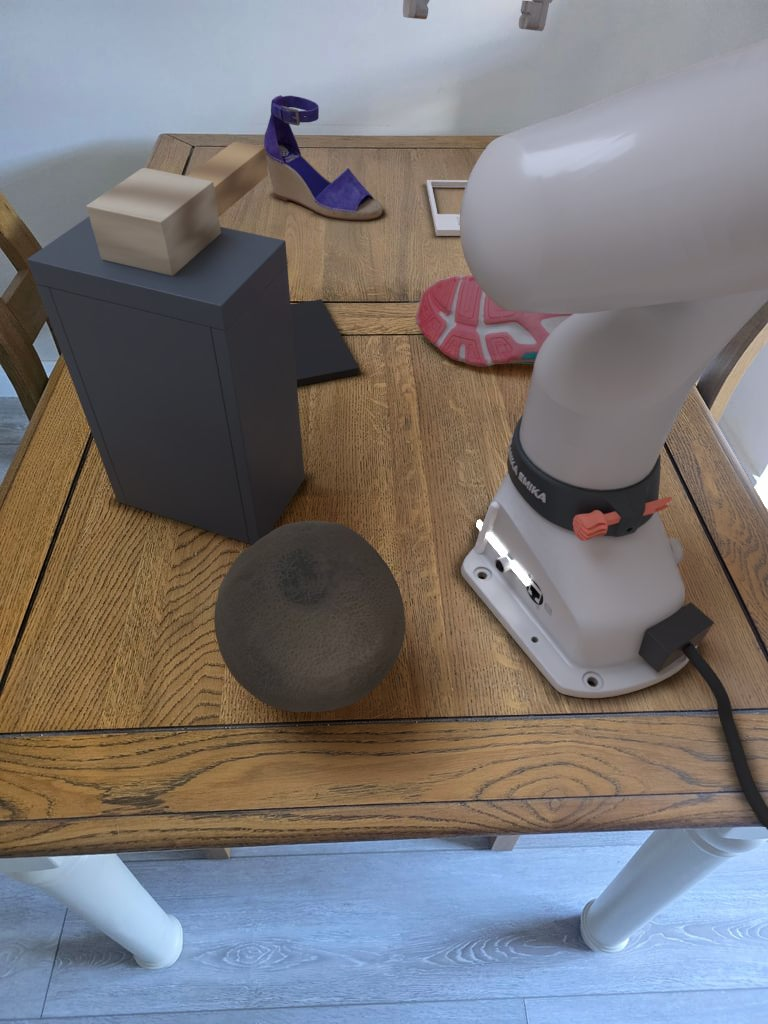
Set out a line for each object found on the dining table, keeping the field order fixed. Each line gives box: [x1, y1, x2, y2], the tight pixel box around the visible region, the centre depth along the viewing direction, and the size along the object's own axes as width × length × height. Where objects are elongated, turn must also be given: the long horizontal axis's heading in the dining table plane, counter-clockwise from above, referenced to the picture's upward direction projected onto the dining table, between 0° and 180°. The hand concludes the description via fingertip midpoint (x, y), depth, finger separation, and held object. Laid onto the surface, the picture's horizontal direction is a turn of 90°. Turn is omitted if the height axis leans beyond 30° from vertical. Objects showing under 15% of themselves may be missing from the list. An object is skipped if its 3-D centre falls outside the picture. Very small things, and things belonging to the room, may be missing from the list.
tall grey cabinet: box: [26, 216, 306, 546], centre depth 62 cm, size 10×16×26 cm, turn 70°
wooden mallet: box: [85, 140, 269, 276], centre depth 55 cm, size 18×6×4 cm, turn 160°
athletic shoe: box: [414, 274, 573, 368], centre depth 88 cm, size 27×9×12 cm
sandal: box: [263, 94, 384, 222], centre depth 110 cm, size 8×20×15 cm, turn 60°
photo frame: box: [425, 179, 468, 237], centre depth 115 cm, size 15×1×18 cm
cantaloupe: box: [213, 520, 407, 713], centre depth 53 cm, size 14×14×15 cm
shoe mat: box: [290, 298, 360, 387], centre depth 89 cm, size 16×10×1 cm, turn 20°
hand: (473, 24), depth 54 cm, fingers open, 8 cm apart
